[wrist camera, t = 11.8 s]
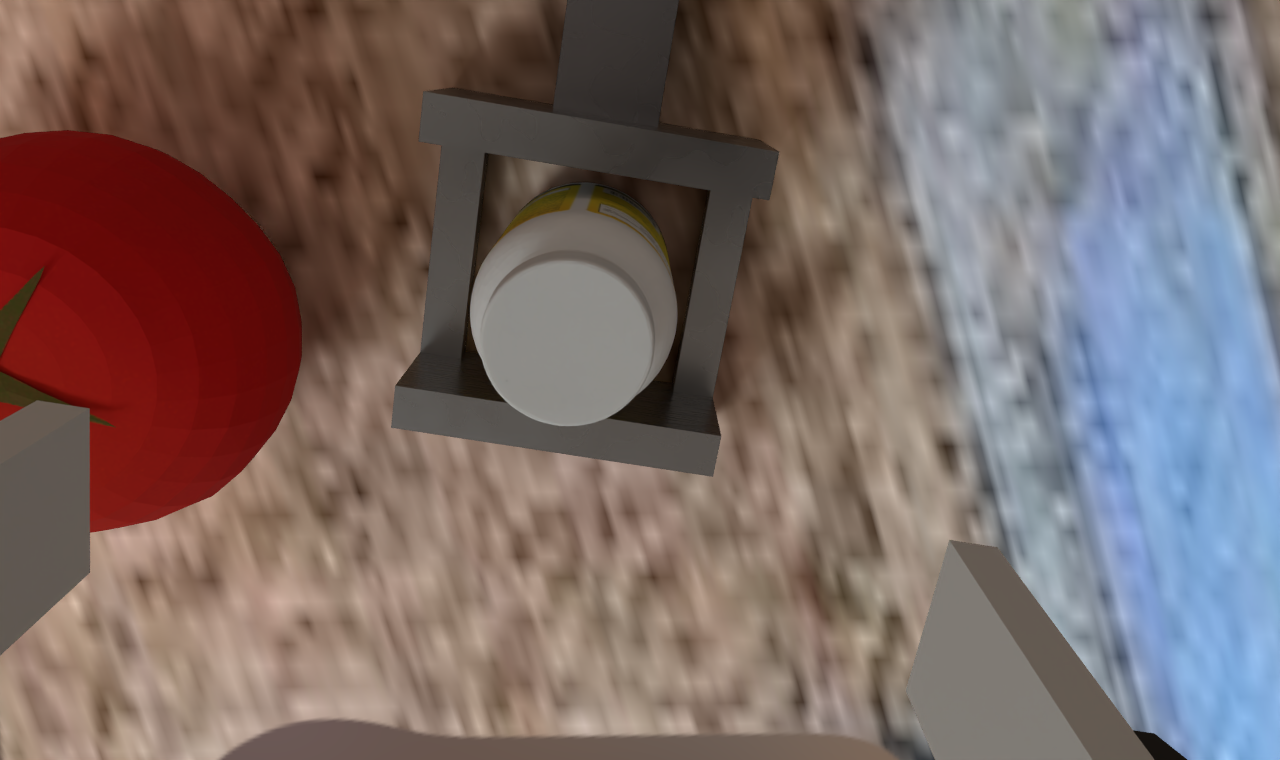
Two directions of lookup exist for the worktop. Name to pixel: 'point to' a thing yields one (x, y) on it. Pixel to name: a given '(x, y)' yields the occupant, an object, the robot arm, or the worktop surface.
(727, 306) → the bracket
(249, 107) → the worktop surface
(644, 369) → the pill bottle
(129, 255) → the tomato
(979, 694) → the robot arm
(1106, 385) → the worktop surface
